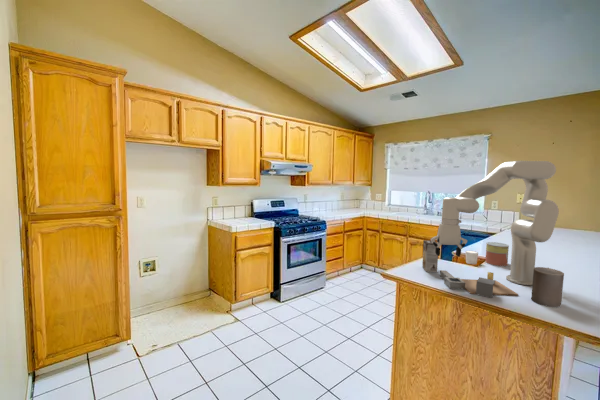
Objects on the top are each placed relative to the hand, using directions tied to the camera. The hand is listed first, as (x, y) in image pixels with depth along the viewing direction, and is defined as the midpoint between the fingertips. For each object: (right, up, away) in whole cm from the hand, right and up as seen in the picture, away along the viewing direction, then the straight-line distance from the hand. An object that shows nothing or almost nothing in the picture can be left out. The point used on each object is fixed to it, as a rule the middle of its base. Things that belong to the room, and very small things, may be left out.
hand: (447, 255), depth 143 cm
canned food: (+46, -11, +30) cm, 56 cm away
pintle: (+18, -13, -4) cm, 23 cm away
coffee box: (-1, -12, +18) cm, 22 cm away
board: (+13, -14, -8) cm, 21 cm away
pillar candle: (+29, -15, -24) cm, 41 cm away
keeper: (+9, -14, -15) cm, 23 cm away
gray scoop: (0, -13, -2) cm, 13 cm away
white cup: (+31, -11, +31) cm, 45 cm away
